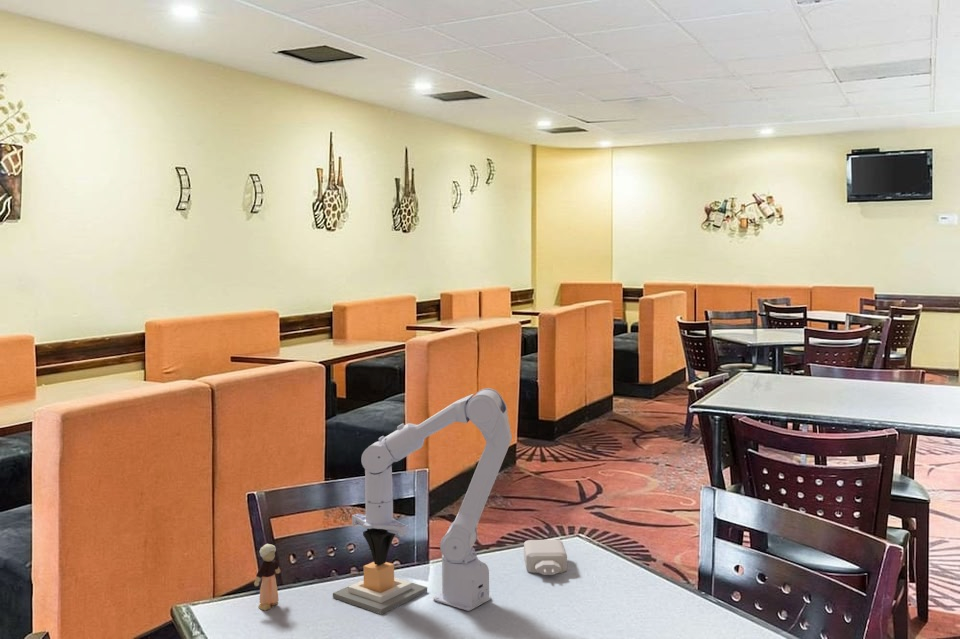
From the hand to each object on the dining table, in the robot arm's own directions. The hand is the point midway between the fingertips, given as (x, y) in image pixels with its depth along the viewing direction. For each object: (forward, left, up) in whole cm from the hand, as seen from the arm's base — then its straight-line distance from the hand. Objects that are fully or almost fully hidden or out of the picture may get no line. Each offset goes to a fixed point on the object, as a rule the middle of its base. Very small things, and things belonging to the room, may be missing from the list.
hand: (380, 563), depth 168 cm
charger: (-21, -33, -7) cm, 39 cm away
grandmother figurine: (+15, +17, -7) cm, 24 cm away
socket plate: (0, 0, -7) cm, 7 cm away
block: (0, 0, -6) cm, 6 cm away
